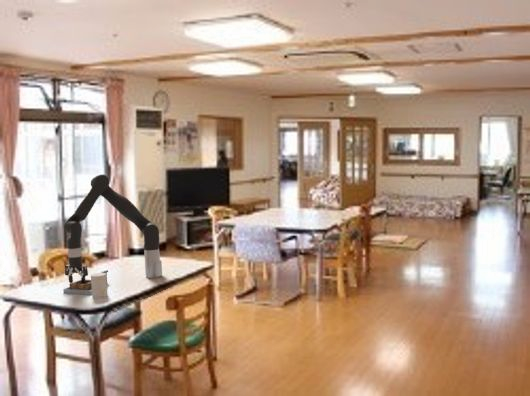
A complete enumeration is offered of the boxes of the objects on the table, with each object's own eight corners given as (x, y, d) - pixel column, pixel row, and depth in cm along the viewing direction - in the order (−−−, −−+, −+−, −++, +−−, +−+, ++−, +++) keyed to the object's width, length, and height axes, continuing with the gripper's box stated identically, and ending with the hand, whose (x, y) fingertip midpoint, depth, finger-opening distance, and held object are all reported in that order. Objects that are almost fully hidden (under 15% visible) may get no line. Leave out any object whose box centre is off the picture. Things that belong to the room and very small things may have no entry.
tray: (107, 287, 344) (107, 283, 344) (90, 294, 329) (90, 290, 329) (81, 285, 350) (81, 282, 350) (63, 292, 336) (63, 289, 335)
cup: (99, 298, 320) (97, 276, 319) (89, 296, 325) (87, 275, 324) (110, 294, 327) (109, 273, 326) (100, 293, 332) (98, 272, 330)
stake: (109, 282, 356) (108, 270, 355) (104, 284, 351) (103, 272, 350) (106, 282, 356) (105, 270, 356) (101, 284, 352) (100, 272, 351)
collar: (100, 286, 343) (100, 280, 342) (88, 291, 332) (88, 284, 332) (82, 285, 347) (81, 279, 347) (70, 290, 337) (69, 283, 337)
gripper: (89, 254, 341) (91, 282, 342) (69, 253, 346) (71, 280, 347) (81, 257, 334) (83, 285, 335) (60, 256, 339) (62, 284, 340)
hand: (77, 283), depth 341 cm, fingers open, 8 cm apart
